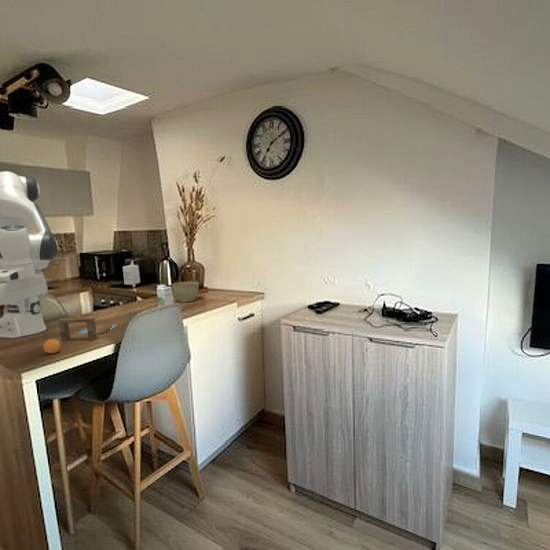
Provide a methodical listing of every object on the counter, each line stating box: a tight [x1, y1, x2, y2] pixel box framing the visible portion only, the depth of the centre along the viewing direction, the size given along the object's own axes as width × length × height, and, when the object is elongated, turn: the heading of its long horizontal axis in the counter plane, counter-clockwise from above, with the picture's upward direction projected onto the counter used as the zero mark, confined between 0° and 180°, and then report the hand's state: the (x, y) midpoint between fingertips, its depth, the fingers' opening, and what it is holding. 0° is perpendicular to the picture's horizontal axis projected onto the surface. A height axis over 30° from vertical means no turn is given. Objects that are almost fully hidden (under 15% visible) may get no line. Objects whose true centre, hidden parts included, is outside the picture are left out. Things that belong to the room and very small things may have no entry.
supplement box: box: [122, 264, 141, 286], centre depth 297 cm, size 9×9×15 cm
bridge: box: [58, 316, 98, 341], centre depth 155 cm, size 3×14×9 cm, turn 84°
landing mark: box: [76, 324, 119, 335], centre depth 169 cm, size 13×13×1 cm
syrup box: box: [156, 285, 174, 308], centre depth 192 cm, size 6×6×14 cm
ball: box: [43, 338, 61, 354], centre depth 139 cm, size 6×6×6 cm
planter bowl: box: [171, 281, 200, 303], centre depth 223 cm, size 16×16×11 cm
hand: (25, 311), depth 127 cm, fingers closed
